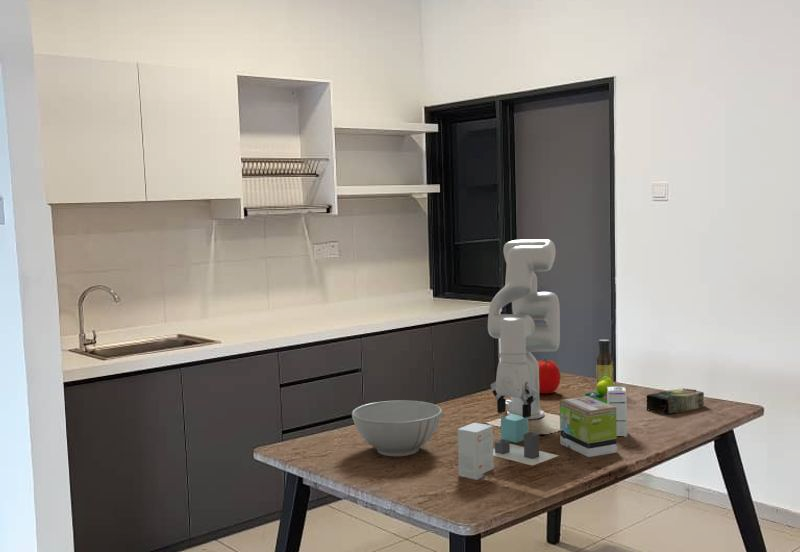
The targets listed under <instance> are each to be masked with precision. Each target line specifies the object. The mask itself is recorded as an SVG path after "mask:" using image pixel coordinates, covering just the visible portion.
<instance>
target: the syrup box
mask: <svg viewBox="0 0 800 552" xmlns="http://www.w3.org/2000/svg"><path fill="white" fill-rule="evenodd" d="M627 402H628V401H627V391H626V387H625V386H614V387H607V404H609V405H612V406H615V407H616V431H617V436H624V437H623V438H628V406H627V404H628V403H627Z"/></svg>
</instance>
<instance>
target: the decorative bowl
mask: <svg viewBox="0 0 800 552" xmlns="http://www.w3.org/2000/svg"><path fill="white" fill-rule="evenodd" d="M442 414H443V408H441V407H440V406H439V405H437V404H435V403H431V402H426V401H421V400H419V401H418V400H405V399H403V400H402V399H401V400H399V399H398V400H396V399H395V400H386V401H377V402H376V401H375V402H371V403H366V404H362V405H361V406H358V407H356V408H354V409H353V410H352V412H351V417H352V420H353V423H354V425H355V427H356V429H357V431H358V433H359V435H360V436H361V437H362V438H363V439H364V441H365V442H366V443H367V444H368V445H370V446H371V447H373V448H374V449H376V450H377V453H378V454H380V455H383V456H385V457H387V456H388V457H407V456H411V455H414V454H416V453H417V452H419V449H420V447H423V445H425V444H426V443H427V442H428V441H429V440H431V438H432V437H433V436H434V434H435V432H436V431H437V428H438V427H439V424H440V421H441V418H442Z"/></svg>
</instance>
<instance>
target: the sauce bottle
mask: <svg viewBox="0 0 800 552" xmlns="http://www.w3.org/2000/svg"><path fill="white" fill-rule="evenodd" d="M610 344H611V340H609V339H599V340H598V345H599V346H598V348H599V350H598V351H599V352H598V354H597V355H596V361H595V362H596V365H595V367H596V368H595V369H596V385H597V384H598V383H599V382H600V381H601V380H602V378H603V377H604V376H607V377H610V379H611V380H612V387H615V384H614V379H615V378H614V359H613V356H612V354H611V353H610ZM597 391H598V389H596V392H597Z"/></svg>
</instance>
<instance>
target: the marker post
mask: <svg viewBox="0 0 800 552" xmlns="http://www.w3.org/2000/svg"><path fill="white" fill-rule="evenodd" d="M523 447H524V457H526V458H530V459H534V458H537V457H539V451H540V434H539V433H535V432H531V431H530V432H529V431H528V433H526V434H524V440H523Z"/></svg>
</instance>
